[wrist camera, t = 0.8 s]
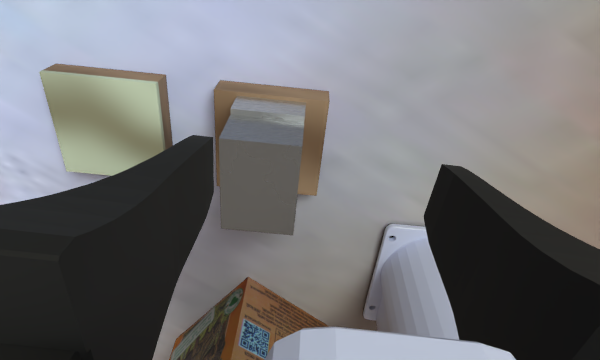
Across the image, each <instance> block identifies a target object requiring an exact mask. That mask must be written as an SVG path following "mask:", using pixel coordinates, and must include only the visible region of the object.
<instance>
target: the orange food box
mask: <svg viewBox="0 0 600 360" xmlns="http://www.w3.org/2000/svg"><path fill="white" fill-rule="evenodd" d="M315 327H329V326H327V325H326V324H324V323H323V322H321V321H319V320H318V319H316V318H314V317H313V316H311V315H310V314H308V313H306V312H305V311H303V310H301V309H300V308H298V307H297V306H295V305H293V304H292V303H290V302H288V301H287V300H285V299H283V298H282V297H280V296H279V295H277V294H275V293H274V292H272V291H270V290H269V289H267V288H266V287H264V286H262V285H261V284H259V283H257V282H256V281H254V280H252V279H251V278H249V277H248V278H246V279H245V280H244V281H243V282H242V283H241V284H239V285H238V286H237V287H236V288H235V289H234V290H233V291H231V292H230V293H229V294H228V295H227V296H226V297H224V298H223V299H222V300H221V301H220V302H219V303H217V304H216V305H215V306H214V307H213V308H212V309H211V310H209V311H208V312H207V313H206V314H205V315H204V316H202V317H201V318H200V319H199V320H198V321H197V322H195V323H194V324H193V325H192V326H191V327H190V328H189V329H187V330H186V331H185V332H184V333H183V334H182V335H180V336H179V337H178V338H177V339H176V341H175V344H174V347H173V350H172V353H171V356H170V358H169V360H265V358H266V356H267V354H268V353H269V351H270V349H271V348H272V346H273V344H274V342H276V341H278V340H280V339H282V338H284V337H286V336H288V335H290V334H293V333H295V332H297V331H299V330H301V329H303V328H315Z"/></svg>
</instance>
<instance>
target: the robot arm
mask: <svg viewBox="0 0 600 360" xmlns="http://www.w3.org/2000/svg"><path fill="white" fill-rule="evenodd" d="M213 193H214V180H213V137H205V136H197V135H193V136H190V137H188V138H186V139H184V140H182V141H181V142H179V143H177V144H175V145H173V146H172V147H170V148H168V149H166V150H164V151H163V152H161V153H159V154H157V155H155V156H154V157H152V158H150V159H148V160H146V161H143V162H141V163H139V164H137V165H135V166H133V167H131V168H129V169H127V170H125V171H122V172H120V173H118V174H115V175H113V176H110V177H108V178H105V179H102V180H99V181H97V182H94V183H91V184H88V185H84V186H81V187H78V188H74V189H71V190H67V191H64V192H60V193H57V194H53V195H48V196H44V197H40V198H35V199H30V200H25V201H20V202H15V203H10V204H4V205H0V360H152V358H153V355H154V352H155V348H156V345H157V341H158V338H159V335H160V332H161V329H162V325H163V322H164V319H165V316H166V313H167V310H168V307H169V304H170V301H171V298H172V295H173V292H174V289H175V286H176V283H177V280H178V278H179V276H180V273H181V271H182V269H183V266H184V264H185V262H186V260H187V258H188V256H189V254H190V251H191V249H192V247H193V245H194V243H195V241H196V239H197V236H198V234H199V232H200V230H201V228H202V226H203V223H204V221H205V219H206V216H207V213H208V210H209V207H210V203H211V200H212V196H213ZM424 221H425V227H422V226H412V225H402V224H390V225H388V226H387V227H386V229H385V232H384V236H383V240H382V243H381V247H380V251H379V254H378V258H377V262H376V266H375V269H374V273H373V277H372V280H371V284H370V288H369V292H368V295H367V299H366V303H365V306H364V310H363V317H364V318H365V319H367V320H376V324H377V331H372V330H363V329H354V328H345V327H335V326H332V327H315V328H303V329H301V330H299V331H297V332H295V333H293V334H290V335H288V336H286V337H284V338H282V339H280V340H278V341H276V342H274V344H273V346H272V348H271V349H270V351H269V353H268V354H267V356H266V358H265V360H600V249H598V248H595V247H593V246H591V245H589V244H587V243H585V242H583V241H581V240H579V239H577V238H575V237H573V236H571V235H569V234H568V233H566V232H564V231H562V230H560V229H558V228H556V227H554V226H553V225H551V224H549V223H548V222H546V221H544V220H542V219H541V218H539V217H538V216H536V215H534V214H533V213H531V212H530V211H528V210H526V209H525V208H523V207H522V206H520V205H519V204H517V203H516V202H514V201H513V200H511V199H510V198H508V197H507V196H505V195H504V194H503V193H501V192H500V191H498V190H497V189H495V188H494V187H493V186H491V185H490V184H488V183H487V182H485V181H484V180H482V179H481V178H480V177H478V176H477V175H475V174H474V173H472V172H470V171H469V170H467V169H465V168H463V167H461V166H453V165H444V164H442V165H441V168H440V171H439V174H438V177H437V180H436V182H435V185H434V188H433V191H432V194H431V197H430V199H429V202H428V205H427V208H426V211H425V214H424ZM390 236H394V237H392V238H389V237H390ZM371 305H373V306H371Z"/></svg>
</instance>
